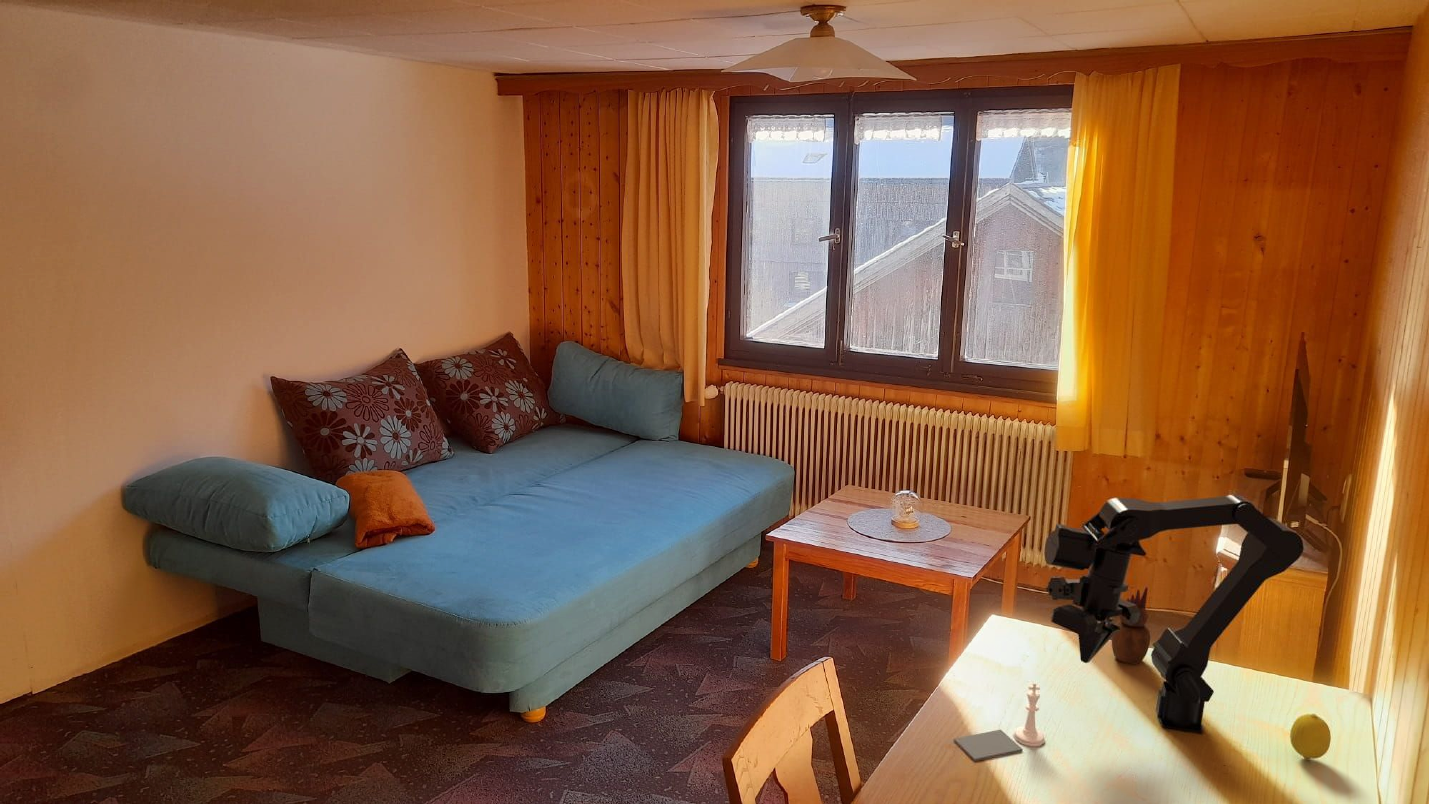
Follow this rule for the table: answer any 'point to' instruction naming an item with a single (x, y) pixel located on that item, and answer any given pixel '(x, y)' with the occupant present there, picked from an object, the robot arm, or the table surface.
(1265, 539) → the robot arm
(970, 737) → the slate mat
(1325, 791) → the table surface
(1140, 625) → the wooden figurine
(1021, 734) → the chess piece
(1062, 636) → the table surface
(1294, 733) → the lemon
